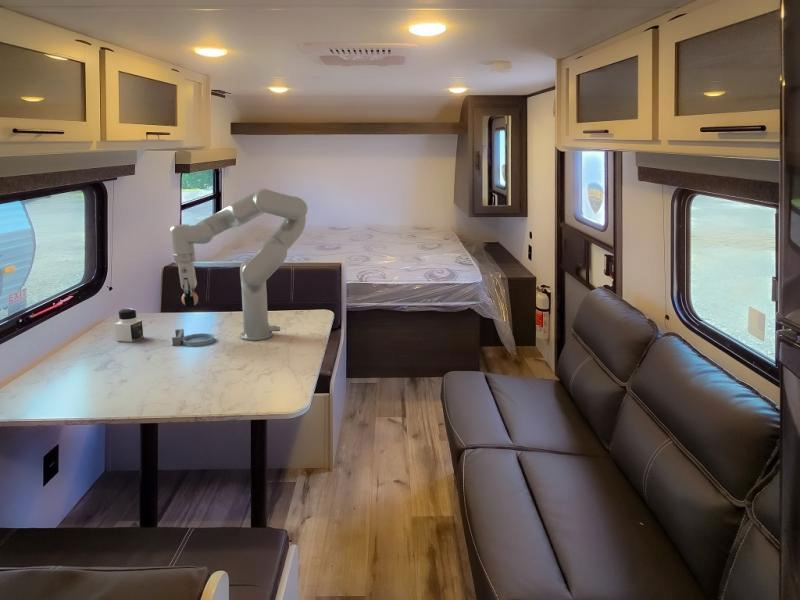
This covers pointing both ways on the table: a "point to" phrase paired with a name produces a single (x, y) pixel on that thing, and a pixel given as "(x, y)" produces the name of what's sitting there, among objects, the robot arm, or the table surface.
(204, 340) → the dish
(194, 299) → the ball
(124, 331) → the medicine bottle
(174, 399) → the table surface
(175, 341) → the gate arch
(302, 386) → the table surface
